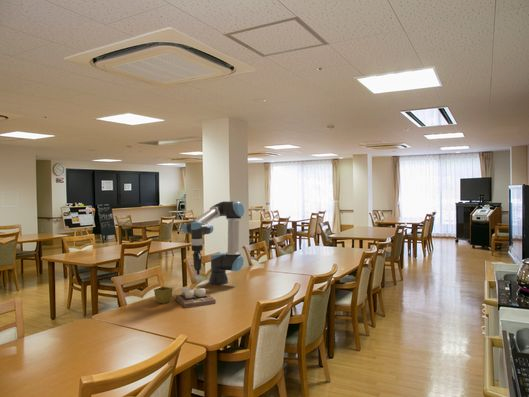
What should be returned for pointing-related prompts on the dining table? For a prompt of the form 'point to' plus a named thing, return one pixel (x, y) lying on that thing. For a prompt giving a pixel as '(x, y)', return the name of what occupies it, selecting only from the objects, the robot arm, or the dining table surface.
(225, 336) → the dining table surface
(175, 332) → the dining table surface
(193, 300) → the egg tray
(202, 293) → the white egg
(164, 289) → the flower pot
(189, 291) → the cream rounded oval
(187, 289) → the white egg
